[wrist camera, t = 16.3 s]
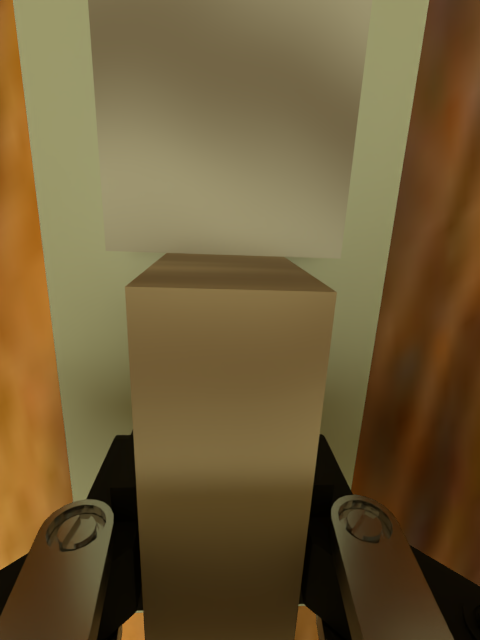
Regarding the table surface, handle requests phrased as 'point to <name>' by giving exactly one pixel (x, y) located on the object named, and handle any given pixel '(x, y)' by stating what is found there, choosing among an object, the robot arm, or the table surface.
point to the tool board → (122, 267)
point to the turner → (226, 284)
